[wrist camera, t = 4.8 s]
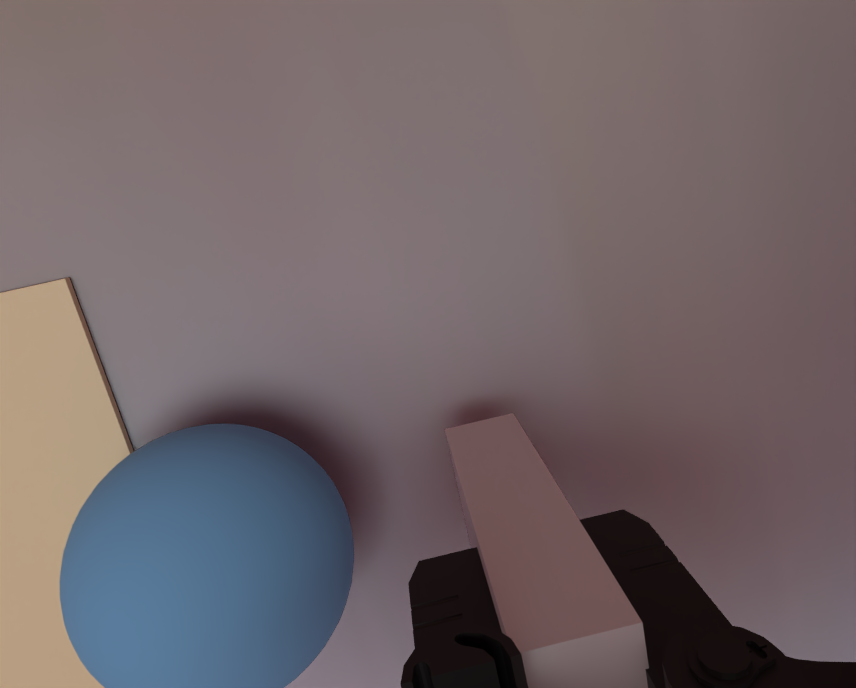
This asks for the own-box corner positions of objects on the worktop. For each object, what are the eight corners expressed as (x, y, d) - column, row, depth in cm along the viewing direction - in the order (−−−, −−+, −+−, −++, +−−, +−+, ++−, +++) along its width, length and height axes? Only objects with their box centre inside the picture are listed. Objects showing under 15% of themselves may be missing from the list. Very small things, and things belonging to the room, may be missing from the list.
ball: (-64, 555, 9) (86, 420, 14) (70, 834, 11) (161, 618, 16) (309, 463, 10) (321, 364, 15) (389, 744, 11) (374, 563, 16)
